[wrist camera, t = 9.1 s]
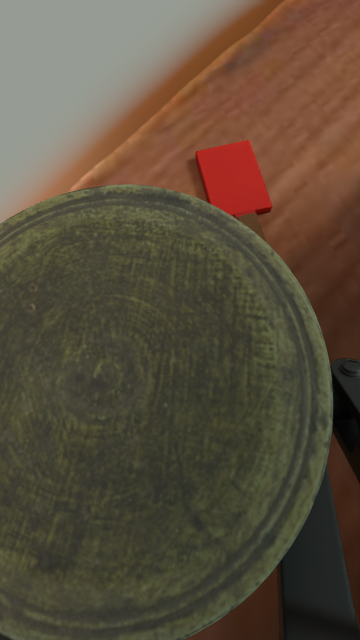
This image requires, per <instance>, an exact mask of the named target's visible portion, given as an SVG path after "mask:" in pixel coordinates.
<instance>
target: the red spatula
mask: <svg viewBox="0 0 360 640" xmlns="http://www.w3.org/2000/svg"><path fill="white" fill-rule="evenodd" d="M196 160H197V164H198V167H199V171H200V174H201V178H202V181H203V185H204V188H205V192H206V195H207V199H208V202H209V204H212V205H214V206H216V207H217V208H219V209H221V210H223V211H225V212H226V213H228V214H230V215H232V216H233V217H234V218H236V219H237V220H238V221H240V222H242V223H243V224H244V225H246V226H247V227H248V228H250V229H251V230H252V231H254V232H255V233H256V234H257V235H258V236H260V237H261V238H262V239H263V240H264V241H265V238H264V235H263V232H262V229H261V226H260V223H259V220H258V217H257V214H260V213H265V212H269V211H270V210H271V208H272V204H271V201H270V198H269V196H268V193H267V190H266V187H265V184H264V181H263V178H262V176H261V173H260V170H259V167H258V164H257V161H256V158H255V156H254V153H253V150H252V147H251V144H250V141H249V140H247V141H242V142H237V143H233V144H228V145H224V146H219V147H214V148H210V149H205V150H200V151H196ZM265 242H266V241H265Z"/></svg>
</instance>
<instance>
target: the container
mask: <svg viewBox="0 0 360 640" xmlns="http://www.w3.org/2000/svg"><path fill="white" fill-rule="evenodd" d="M332 423H333V391H332V377H331V369H330V362H329V358H328V353H327V349H326V345H325V341H324V337H323V334H322V331H321V328H320V325H319V322H318V320H317V317H316V315H315V312H314V310H313V308H312V306H311V304H310V302H309V300H308V298H307V296H306V294H305V292H304V290H303V289H302V287H301V285H300V284H299V282H298V280H297V279H296V278H295V276H294V275H293V273H292V272H291V271H290V269H289V268H288V266H287V265H286V264H285V262H284V261H283V260H282V259H281V257H280V256H279V255H278V254H277V253H276V252H275V251H274V250H273V249H272V248H271V247H270V246H269V245H268V244H267V243H266V242H265V241H264V240H263V239H262V238H261V237H260V236H258V235H257V234H256V233H255V232H254V231H252V230H251V229H250V228H248V227H247V226H246V225H244V224H243V223H242V222H240V221H238V220H237V219H236V218H234V217H233V216H232V215H230V214H228V213H226V212H225V211H223V210H221V209H219V208H217V207H216V206H214V205H212V204H209V203H207V202H205V201H203V200H201V199H198V198H196V197H193V196H190V195H187V194H184V193H180V192H177V191H173V190H168V189H164V188H158V187H153V186H144V185H108V186H100V187H94V188H87V189H82V190H77V191H73V192H69V193H65V194H62V195H59V196H56V197H53V198H50V199H47V200H45V201H42V202H40V203H38V204H35V205H33V206H31V207H29V208H27V209H25V210H23V211H21V212H20V213H18V214H16V215H14V216H12V217H11V218H9V219H7V220H5V221H4V222H2V223H1V224H0V634H2V635H4V636H6V637H8V638H10V639H12V640H184V639H186V638H189V637H190V636H192V635H194V634H196V633H198V632H199V631H201V630H203V629H205V628H206V627H208V626H210V625H212V624H213V623H215V622H216V621H218V620H219V619H221V618H222V617H224V616H225V615H226V614H228V613H229V612H230V611H232V610H233V609H234V608H236V607H237V606H238V605H240V604H241V603H242V602H243V601H244V600H245V599H246V598H247V597H248V596H250V595H251V594H252V593H253V592H254V591H255V590H256V589H257V588H258V587H259V586H260V584H261V583H262V582H263V581H264V580H265V579H266V578H267V577H268V576H269V575H270V573H271V572H272V571H273V570H274V569H275V567H276V566H277V565H278V563H279V562H280V561H281V559H282V558H283V557H284V555H285V554H286V552H287V551H288V550H289V548H290V547H291V545H292V544H293V542H294V540H295V539H296V537H297V535H298V534H299V532H300V530H301V528H302V526H303V525H304V523H305V521H306V519H307V517H308V515H309V512H310V510H311V508H312V505H313V503H314V500H315V497H316V495H317V493H318V490H319V488H320V485H321V482H322V478H323V475H324V471H325V467H326V463H327V458H328V453H329V448H330V442H331V436H332Z"/></svg>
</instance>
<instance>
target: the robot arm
mask: <svg viewBox="0 0 360 640" xmlns="http://www.w3.org/2000/svg"><path fill="white" fill-rule="evenodd" d="M330 369H331V377H332V391H333V423H332V431H333V433H334V435H335V437H336V439H337V441H338V443H339V445H340V447H341V449H342V451H343V452H344V454H345V456H346V458H347V460H348V462H349V464H350V466H351V468H352V470H353V472H354V474H355V476H356V477H357V479H358V481H359V483H360V361H358V360H355V359H350V358H341V359H337V360H335V361H334V362H332V364H331V368H330ZM277 574H278V609H279V640H360V630H359V627H358V624H357V620H356V616H355V611H354V606H353V601H352V595H351V590H350V585H349V580H348V574H347V569H346V564H345V558H344V553H343V548H342V542H341V537H340V532H339V527H338V521H337V516H336V511H335V505H334V500H333V495H332V489H331V484H330V479H329V474H328V468H327V463H326V467H325V471H324V475H323V478H322V482H321V485H320V488H319V490H318V493H317V495H316V497H315V500H314V503H313V505H312V508H311V510H310V512H309V515H308V517H307V519H306V521H305V523H304V525H303V526H302V528H301V530H300V532H299V534H298V535H297V537H296V539H295V540H294V542H293V544H292V545H291V547H290V548H289V550H288V551H287V552H286V554H285V555H284V557H283V558H282V559H281V561H280V562H279V563H278V565H277ZM0 640H12V639H10V638H8V637H6V636H4V635H2V634H0Z"/></svg>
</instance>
